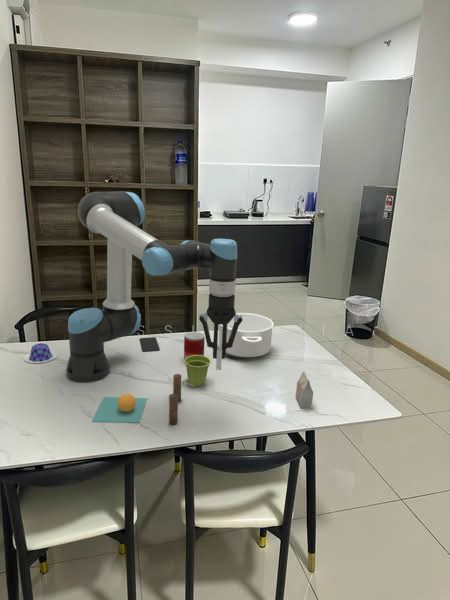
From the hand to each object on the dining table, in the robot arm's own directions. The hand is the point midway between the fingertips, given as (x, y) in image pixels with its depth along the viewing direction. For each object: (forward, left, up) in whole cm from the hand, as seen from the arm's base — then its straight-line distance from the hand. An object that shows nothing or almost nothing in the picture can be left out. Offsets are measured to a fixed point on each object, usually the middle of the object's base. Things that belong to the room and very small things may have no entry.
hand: (218, 367), depth 126 cm
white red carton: (+29, +7, -16) cm, 34 cm away
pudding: (-69, +36, -16) cm, 79 cm away
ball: (-28, -1, -13) cm, 31 cm away
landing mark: (-30, 0, -15) cm, 34 cm away
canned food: (-9, +37, -16) cm, 41 cm away
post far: (-13, +6, -15) cm, 21 cm away
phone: (-29, +52, -16) cm, 62 cm away
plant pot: (-7, +19, -16) cm, 26 cm away
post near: (-13, -6, -15) cm, 21 cm away
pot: (+12, +48, -16) cm, 52 cm away
